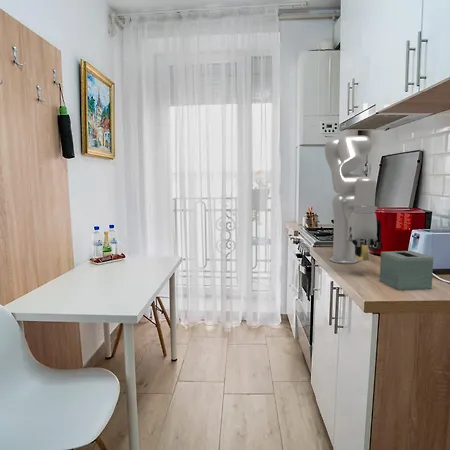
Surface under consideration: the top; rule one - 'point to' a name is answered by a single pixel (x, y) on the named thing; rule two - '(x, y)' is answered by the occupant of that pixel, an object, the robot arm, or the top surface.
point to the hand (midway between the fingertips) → (361, 255)
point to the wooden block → (363, 253)
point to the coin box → (406, 270)
